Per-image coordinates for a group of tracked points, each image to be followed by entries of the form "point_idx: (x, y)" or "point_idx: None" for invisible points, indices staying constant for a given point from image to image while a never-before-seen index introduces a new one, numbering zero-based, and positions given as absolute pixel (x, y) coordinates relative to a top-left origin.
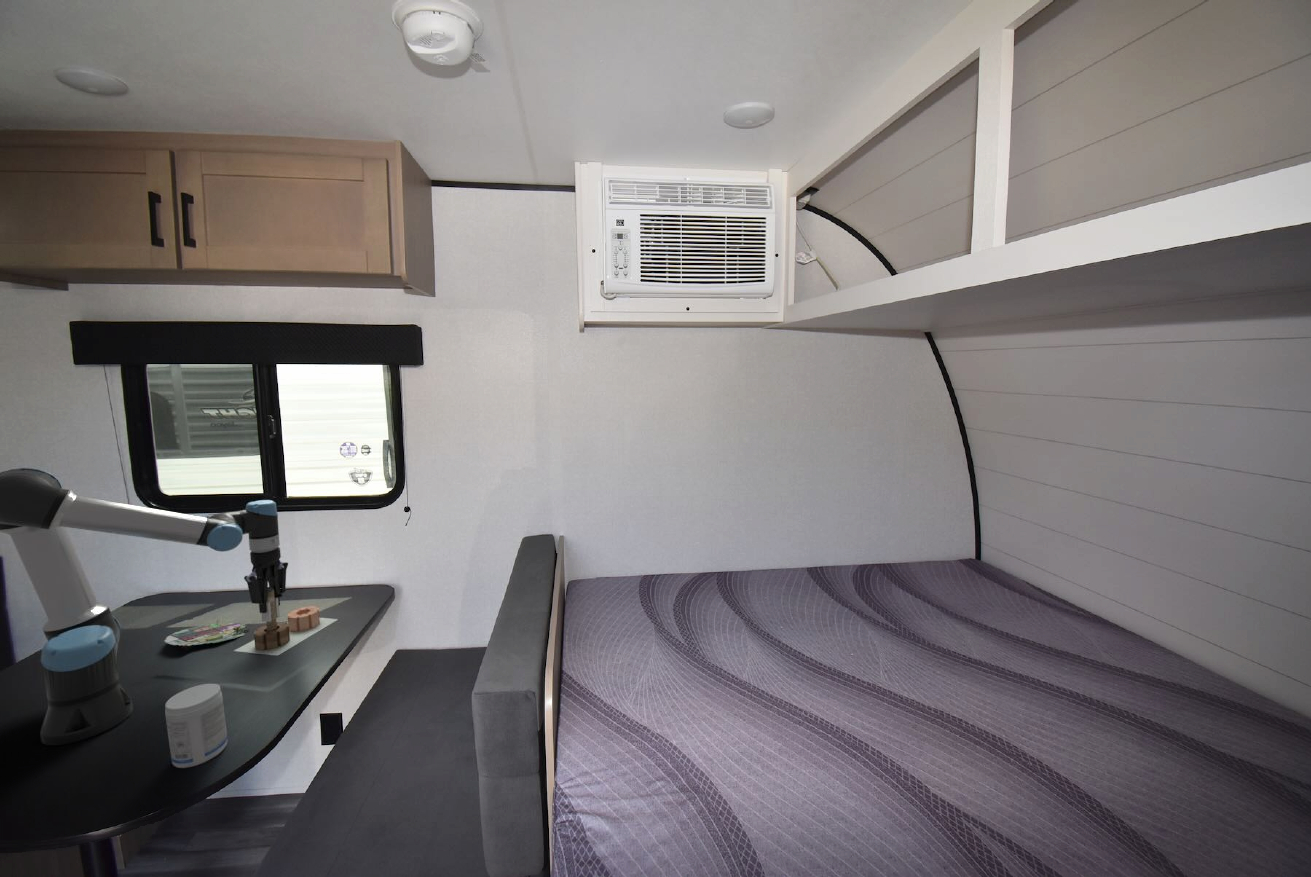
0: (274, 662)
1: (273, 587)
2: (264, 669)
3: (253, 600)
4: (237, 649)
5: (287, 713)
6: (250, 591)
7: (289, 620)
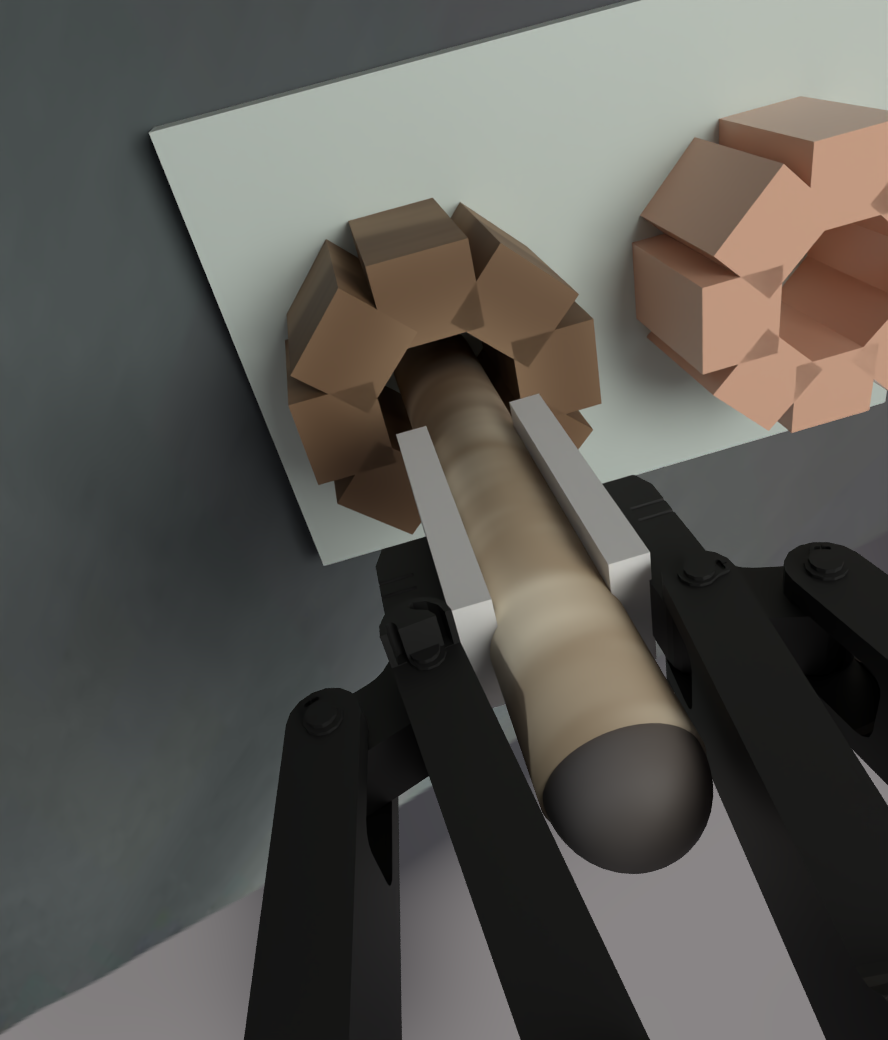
0: (287, 569)
1: (735, 794)
2: (205, 602)
3: (309, 768)
4: (186, 139)
5: (106, 966)
6: (262, 1018)
7: (685, 280)
